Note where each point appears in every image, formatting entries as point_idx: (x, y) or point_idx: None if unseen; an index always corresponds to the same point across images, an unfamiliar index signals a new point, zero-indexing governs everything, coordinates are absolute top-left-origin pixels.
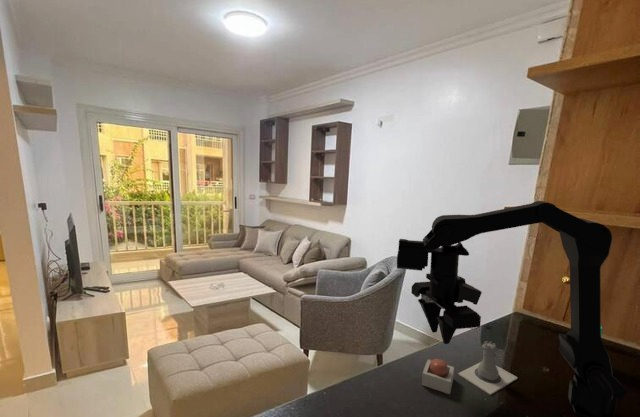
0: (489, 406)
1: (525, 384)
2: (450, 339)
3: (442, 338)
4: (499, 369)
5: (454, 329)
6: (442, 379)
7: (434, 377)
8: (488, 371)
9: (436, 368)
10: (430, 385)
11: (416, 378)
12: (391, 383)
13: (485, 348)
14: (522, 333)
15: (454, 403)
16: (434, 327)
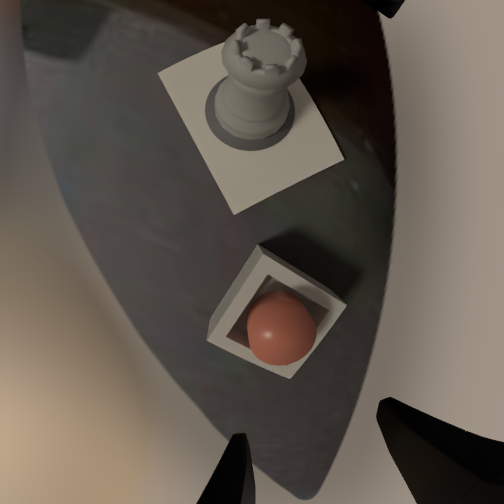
0: (381, 192)
1: None
2: (415, 411)
3: (391, 446)
4: (218, 54)
5: (481, 446)
6: (330, 327)
7: (314, 348)
8: (282, 112)
9: (306, 351)
10: None
11: None
12: (268, 417)
13: (279, 83)
14: None
15: (362, 289)
16: (250, 470)
